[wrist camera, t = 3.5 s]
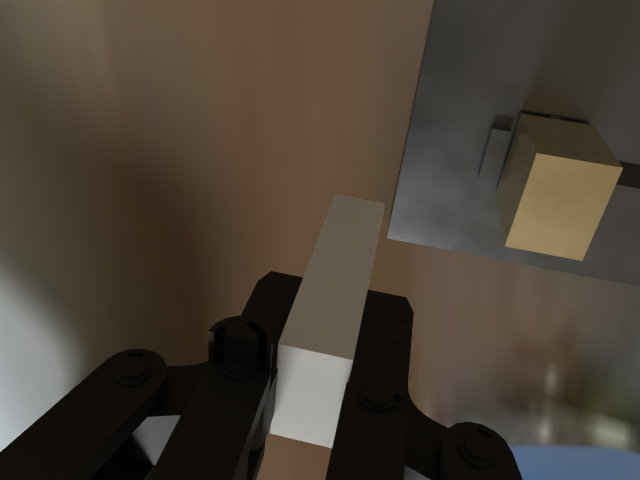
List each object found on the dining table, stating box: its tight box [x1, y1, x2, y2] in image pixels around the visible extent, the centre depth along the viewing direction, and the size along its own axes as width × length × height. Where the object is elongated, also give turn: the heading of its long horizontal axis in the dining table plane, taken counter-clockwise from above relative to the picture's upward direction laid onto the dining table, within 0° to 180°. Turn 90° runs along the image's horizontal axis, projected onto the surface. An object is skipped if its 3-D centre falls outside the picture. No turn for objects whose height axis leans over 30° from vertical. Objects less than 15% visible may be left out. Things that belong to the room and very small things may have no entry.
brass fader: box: [495, 114, 623, 261], centre depth 23 cm, size 3×4×4 cm
